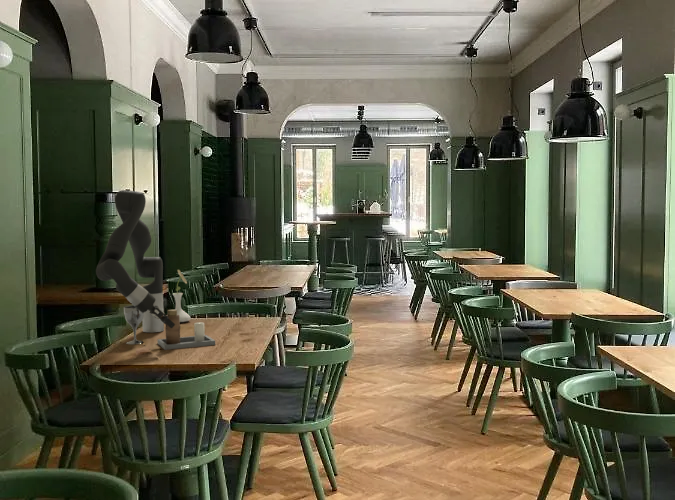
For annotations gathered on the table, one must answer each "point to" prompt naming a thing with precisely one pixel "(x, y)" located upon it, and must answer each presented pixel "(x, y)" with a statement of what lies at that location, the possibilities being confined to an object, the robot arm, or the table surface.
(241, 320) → the table surface
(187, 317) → the flower in vase
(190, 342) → the condiment tray
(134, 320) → the wine glass
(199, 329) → the salt shaker
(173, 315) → the brown bottle
